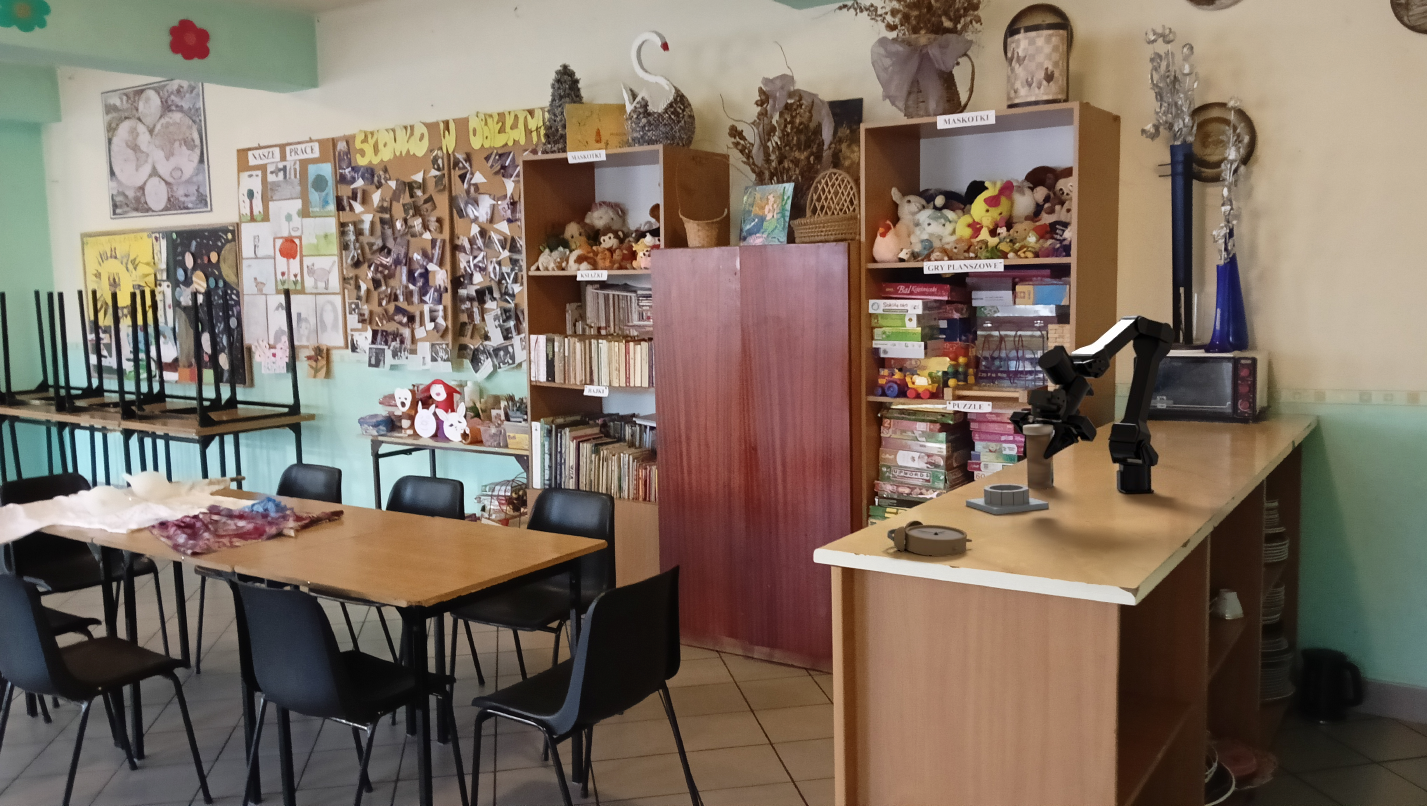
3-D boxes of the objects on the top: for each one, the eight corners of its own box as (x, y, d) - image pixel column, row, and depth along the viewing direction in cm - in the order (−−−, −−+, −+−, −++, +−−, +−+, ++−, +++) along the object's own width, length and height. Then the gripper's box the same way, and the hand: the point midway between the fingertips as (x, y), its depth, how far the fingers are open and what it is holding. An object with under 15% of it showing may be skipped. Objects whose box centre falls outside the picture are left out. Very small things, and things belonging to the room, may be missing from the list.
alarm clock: (956, 543, 190) (878, 523, 198) (952, 570, 191) (875, 548, 199) (977, 530, 199) (902, 511, 207) (973, 555, 200) (899, 536, 208)
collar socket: (1016, 499, 241) (1016, 480, 240) (1048, 508, 229) (1048, 488, 229) (966, 505, 237) (965, 486, 237) (995, 514, 226) (995, 495, 225)
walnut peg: (1050, 484, 227) (1048, 423, 226) (1058, 489, 221) (1056, 426, 220) (1021, 485, 227) (1019, 424, 226) (1028, 490, 221) (1026, 428, 220)
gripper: (1013, 373, 232) (980, 430, 227) (1086, 376, 216) (1053, 436, 211) (1038, 406, 237) (1006, 461, 232) (1111, 410, 221) (1079, 470, 216)
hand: (1034, 457), depth 223 cm, fingers closed on walnut peg, 5 cm apart
